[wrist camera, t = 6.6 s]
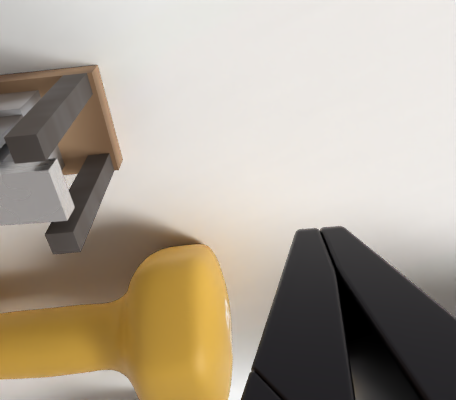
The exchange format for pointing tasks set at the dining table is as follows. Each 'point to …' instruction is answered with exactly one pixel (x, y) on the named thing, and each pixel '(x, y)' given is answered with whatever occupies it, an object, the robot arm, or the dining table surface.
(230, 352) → the dumbbell
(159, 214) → the dining table surface
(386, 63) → the dining table surface
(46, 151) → the grey and tan frame
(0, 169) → the grey bar
